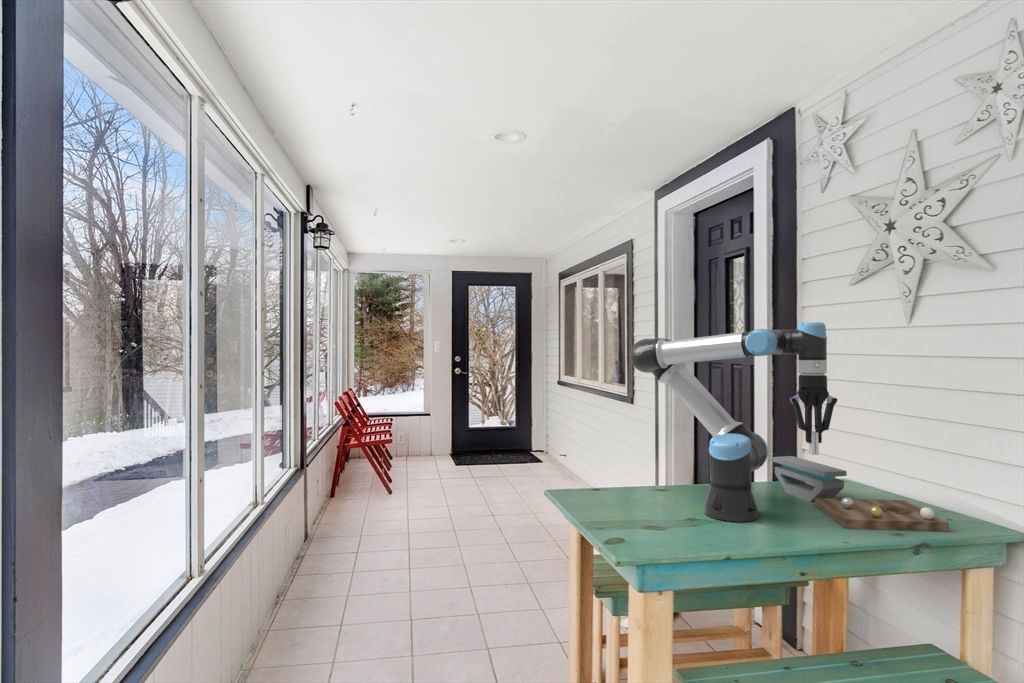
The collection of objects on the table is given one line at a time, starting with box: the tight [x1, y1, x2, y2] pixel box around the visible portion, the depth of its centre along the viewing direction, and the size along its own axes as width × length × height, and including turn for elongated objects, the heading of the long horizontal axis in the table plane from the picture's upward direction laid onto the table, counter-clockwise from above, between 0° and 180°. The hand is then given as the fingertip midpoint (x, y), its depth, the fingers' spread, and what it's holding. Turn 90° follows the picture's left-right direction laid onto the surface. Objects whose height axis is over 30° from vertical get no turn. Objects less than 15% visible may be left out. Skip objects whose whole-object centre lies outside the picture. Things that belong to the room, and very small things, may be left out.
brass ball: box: [869, 506, 883, 518], centre depth 159 cm, size 3×3×3 cm
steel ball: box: [841, 496, 853, 509], centre depth 168 cm, size 3×3×3 cm
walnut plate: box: [814, 497, 950, 533], centre depth 167 cm, size 26×22×2 cm
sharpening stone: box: [772, 455, 848, 502], centre depth 192 cm, size 25×8×11 cm, turn 12°
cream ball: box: [920, 506, 935, 519], centre depth 158 cm, size 3×3×3 cm
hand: (813, 453), depth 170 cm, fingers closed
